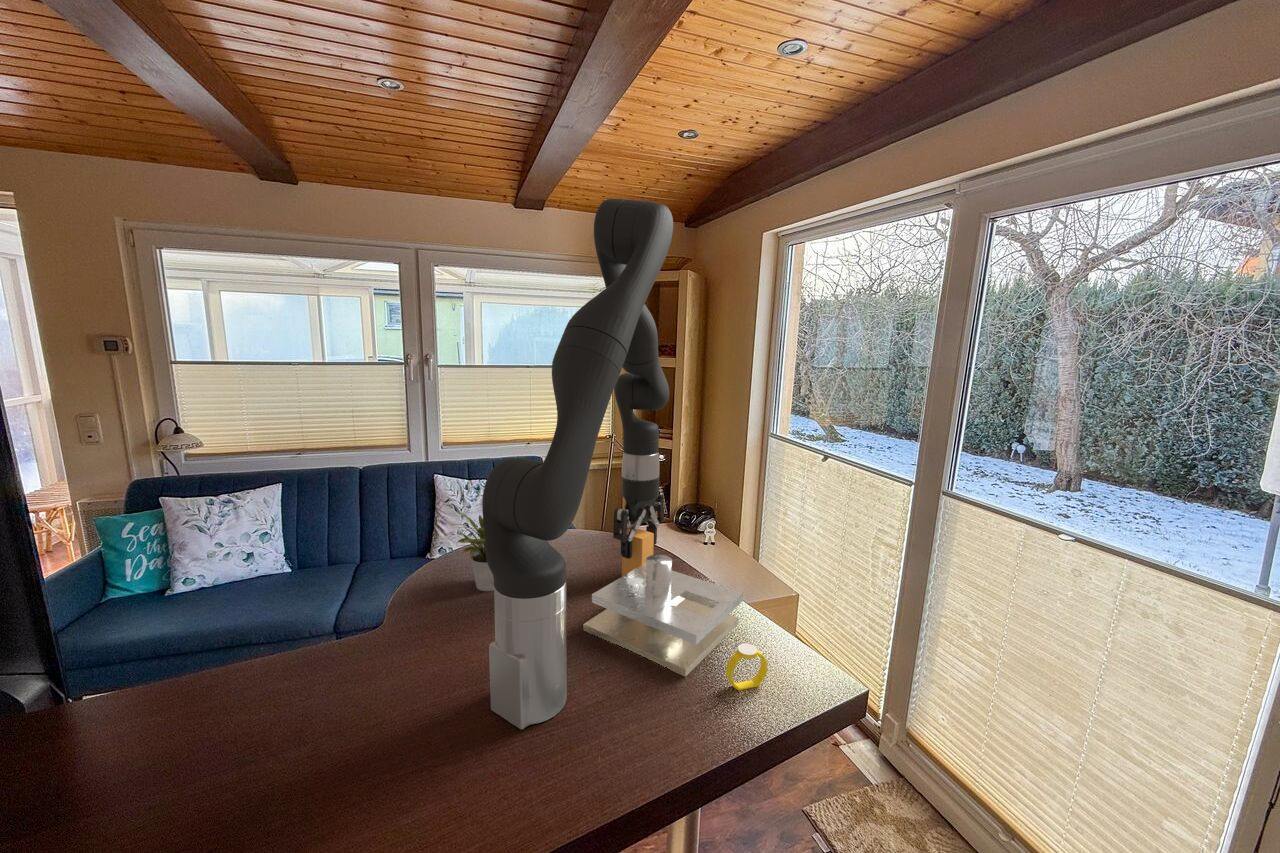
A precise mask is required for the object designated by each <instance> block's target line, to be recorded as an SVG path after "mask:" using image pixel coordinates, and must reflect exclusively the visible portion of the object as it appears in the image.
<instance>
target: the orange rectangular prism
mask: <svg viewBox="0 0 1280 853" xmlns="http://www.w3.org/2000/svg"><path fill="white" fill-rule="evenodd" d="M629 531H630V529H627V534H629ZM654 546H655V545H654V533H651V532H648V531H646V530H643V529H640V528H639V529H638V530H637V531H635V533H634V535H633V538H632V557H631V558H630V559H627V558H624V557H622V556H621V577H622V576H624V575H626V574H627V573H629V572H631V571H633V570H634V569H636V568H638V567H639V566H641V565H643V564H645V563H646V558H647V557H648V556H651V555H654Z"/></svg>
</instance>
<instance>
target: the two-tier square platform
mask: <svg viewBox="0 0 1280 853" xmlns="http://www.w3.org/2000/svg"><path fill="white" fill-rule="evenodd" d="M672 566H673V559H672V557H670V556H669V555H665V554H653V555H651V556H648V557H647V558H646V563H645V564H643V565H641V566H639V567H638V568H636V569H634V570H633V571H631V572H629V573H627V574H626V575H624V576H622V575H621V577H619V578H617V579H616V580H614V581H612V582H611V583H609V584H607V585H606V586H604V587H602V588H600V589H598V590H596V591H595V592H593V593H592V594H591V603H593V604H595V605H596V606H600V607H602V608H605V610H603V611H602V612H600V613H598V614H597V615H595V616H594V617H592V618H590V619H589V620H587V621H586V622H585V623H583V624H582V625H583V626H582V627H583V629H582V630H583V632H585V631H586V632H585V633H588V634H590V635H592V634H593V636H594V635H595V636H594V637H597V636H598V637H597V638H599V639H601V638H602V639H601V640H603V639H604V640H603V641H605V640H607V641H606V642H608V641H610V642H611V643H610V642H609V643H610V644H612V643H614V644H617V645H619V646H621V647H623V648H626V649H629V650H631V651H633V652H635V653H638V654H639V655H641V656H643V657H646V658H648V659H649V660H652V661H654V662H656V663H658V664H660V665H659V666H661V665H662V666H661V667H663V666H664V667H663V668H665V667H667V668H668V670H669V669H670V671H671V672H672V671H673V672H674V673H676V674H679V675H680V676H683V677H684V678H687V676H688V675H689V674H690V673H691V672H692V671H693V670H694V669H695V668H696V667H697V666H698V665H699V664H700V663H701V662H703V660H704V659H705V658H706V657H707V656H708V655H709V654H710V653H711V652H712V651H713V650H714V649H715V648H716V647H717V646H718V645H719V644H720V643H721V642H722V641H723V640H724V639H726V637H727V635H729V634H730V633H731V632H732V631H733V630H734V629H735V628H736V627H737V626H738V624H739V617H738V616H735V615H732V614H731V613H732V612H733V611H734V610H735V609H736V608H737V607H738V606H739V605H740V604H742V602H743V598H744V593H743V592H740V591H737V590H735V589H730V588H729V587H725V586H721V585H719V584H715V583H712V582H709V581H707V580H703V579H700V578H696V577H694V576H690V575H688V574H685V573H682V572H678V571H676V570H673V567H672ZM614 644H613V645H614ZM619 646H618V647H619ZM621 647H620V648H621ZM623 648H622V649H623ZM641 656H640V657H641ZM643 657H642V658H643ZM649 660H648V661H649ZM652 661H651V662H652ZM654 662H653V663H654ZM656 663H655V664H656ZM658 664H657V665H658ZM667 668H666V669H667Z"/></svg>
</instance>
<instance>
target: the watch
mask: <svg viewBox="0 0 1280 853" xmlns="http://www.w3.org/2000/svg"><path fill="white" fill-rule="evenodd" d="M757 657H759V658H760V667H759V669H758V671H757V673H756V675H755V676H754V677H753V678H752V679H749V680H746V681H745V680H744V681H740V682H736V681H734V678H733V676H734V670H735V668H736V666H737V664H738V663H739V662H740V661H741V660H742V659H745V660H746V659H747V660H750V659H751V660H752V659H755V658H757ZM767 673H768V660H767V659H766V657H765V656H764V655H763V653H762V652H761V651H760V650H759V649H758V647H757V646H756V645H754V644H752V643H740V644H739V645H738V646H737V651H736V652H735V653H733V654H732V655H731V657H730V658H729V660H728V662H727V664H726V668H725V675H726V677H727V680H728V682H729V683H730V684H731V686H732V687H733V688H734V689H736V690H737V691H738V692H741V691H744V690H747V689H753V688H757V687H759V686H760V684H761V683H763V682H764V680H765V678H766V675H767Z"/></svg>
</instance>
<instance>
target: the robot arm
mask: <svg viewBox="0 0 1280 853" xmlns="http://www.w3.org/2000/svg"><path fill="white" fill-rule="evenodd" d="M594 216H595V217H594V221H593V222H594V223H593V240H594V247H595V252H596V256H597V260H598V265H599V267H600V272H601V274H602V277H603V282H604V285H605V288H604V289H603V290H602V291H600V292H599V293H597V294H596V295H595V296H594V297H592V298H591V299H590V300H589V301H587V302H586V303H584V305H582V306H581V307H580V308H579V309H578V310H577V311H576V312H575V313H574V314H573V315H572V316H571V318H570V319H569V320H568V322H567V324H566V326H565V328H564V331H563V334H562V335H561V338H560V341H559V343H558V345H557V348H556V350H555V353H554V355H553V359H552V363H551V380H552V389H553V393H554V394H553V395H554V399H555V405H556V411H557V414H556V417H557V418H556V425H555V430H554V433H553V434H554V435H553V438H552V440H551V444H550V447H549V448H548V452H547V454H546V456H545V458H544V461H543V462H542V461H536V460H532V459H526V458H520V457H511V458H507V459H504V460H501V461H499V462H498V463H497V464H496V465H495V466H494V467H493V468H492V470H491V471H490V472H489V474H488V476H487V478H486V480H485V483H484V487H483V492H482V493H483V494H482V502H481V503H482V504H481V507H482V511H481V512H482V519H483V525H484V537H485V549H486V558H487V563H488V566H489V568H490V570H491V572H492V574H493V578H494V590H493V599H494V600H493V601H494V603H493V604H494V606H493V607H494V635H495V636H494V637H495V638H494V641H492V642H490V644H489V646H488V650H489V651H488V655H489V663H488V664H489V690H490V691H489V692H490V710H491V711H492V712H494V713H495V714H496V715H498V716H500V717H501V718H503V719H504V720H505V721H507V722H509V723H510V724H512V725H513V726H515V727H517V729H519V730H524V729H525V728H526V727H528V726H530V725H534V724H536V725H537V724H540V723H541V724H542V722H545V721H548V720H550V719H552V718H554V717H555V716H556V715H558V714H559V713H560V712H561V711H562V710H563V709H564V707H565V705H566V704H567V694H568V693H567V691H568V690H567V689H568V688H567V684H568V683H567V682H568V681H567V679H568V678H567V670H568V669H567V564H566V561H565V560H566V559H564V557H563V554H561V553H560V552H559V551H558V550H557V549H555V548H554V546H552V544H550V542H549V541H554V540H557V539H558V538H560V537H562V536H563V535H565V533H566V532H567V531H568V529H569V528H570V526H571V525H572V524H573V521H574V519H575V517H576V515H577V513H578V512H579V507H580V505H581V501H582V498H583V495H584V490H585V488H586V483H587V480H588V475H589V472H590V467H591V464H592V459H593V456H594V452H595V447H596V443H597V440H598V436H599V433H600V431H601V427H602V424H603V422H604V418H605V415H606V411H607V409H608V406H609V404H610V400H611V397H612V395H613V392H614V397H615V402H616V404H617V407H618V408H617V409H618V412H619V414H620V419H621V425H622V441H623V442H622V460H621V496H622V498H623V499H624V500H625V505H624V508H622V509H621V508H615V509H614V510H613V511H614V513H613V532H612V534H613V535H612V537H613V539H616V540H619V541H620V555H621V558H622V557H624V558H627V559H630V558H631V557H632V538H633V535H634V533H635V531H637V530H638V529H640V526H641V525H642V524H643V523H646V525H647V526H646V527H645V528H646V530H645V531H648V532H651V533H654V546H655V545H657V543H658V542H657V539H658V528H659V526H660V523H663V522H664V521H665V502H664V501H665V500H664V498H665V496H664V495H662V494H660V457H659V455H660V454H659V452H660V451H659V450H660V449H659V446H660V445H659V443H660V442H659V441H660V430H659V425H658V424H656V423H655V422H652V421H649V420H645V419H642V418H639V417H638V416H637V415H636V414H635V412H634V410H635V411H637V410H639V411H641V410H642V411H659V410H661V409H664V408H665V406H666V405H667V404H668V401H669V398H670V386H669V383H668V381H667V377H666V375H665V373H664V371H663V368H662V365H661V362H660V358H659V341H658V340H659V338H658V337H659V336H658V328H657V325H656V322H655V320H654V317H653V315H652V313H651V311H650V310H649V309H648V307H647V305H646V304H645V303H646V301H647V299H648V297H649V295H650V293H651V290H652V289H653V286H654V284H655V282H656V280H657V278H658V275H659V274H660V271H661V269H662V267H663V264H664V263H665V260H666V257H667V255H668V252H669V249H670V246H671V244H672V243H671V242H672V238H673V232H674V218H673V217H674V216H673V215H672V212H671V210H670V209H669V207H668V206H666V205H665V204H662V203H660V202H655V201H650V200H649V201H648V200H638V199H627V198H607V199H605V200H604V201H602V202H601V203H600V205H598V208H597V210H596V213H595V215H594ZM622 369H623V370H624V371H625V372H626V373H622V374H621V372H622ZM657 512H658V514H657ZM630 523H631V524H630ZM628 530H630V531H629V534H627V531H628Z"/></svg>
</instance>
